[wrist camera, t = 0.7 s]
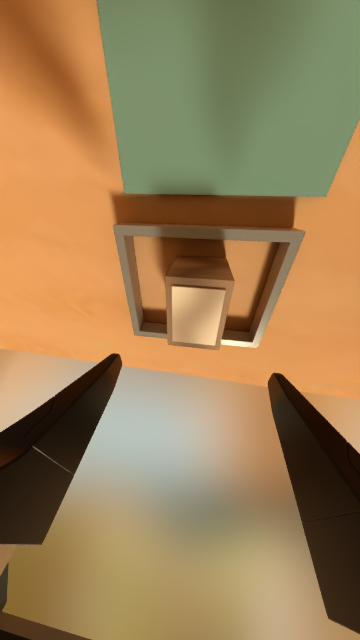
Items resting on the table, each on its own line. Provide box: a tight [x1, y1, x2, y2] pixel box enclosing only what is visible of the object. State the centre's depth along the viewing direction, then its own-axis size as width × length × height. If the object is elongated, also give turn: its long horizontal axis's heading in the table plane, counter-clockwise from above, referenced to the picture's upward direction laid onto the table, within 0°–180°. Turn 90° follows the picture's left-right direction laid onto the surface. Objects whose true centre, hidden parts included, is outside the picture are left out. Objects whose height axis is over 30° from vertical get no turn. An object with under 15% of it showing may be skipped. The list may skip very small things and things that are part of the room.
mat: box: [97, 0, 360, 197], centre depth 10 cm, size 16×11×1 cm
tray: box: [113, 223, 306, 348], centre depth 18 cm, size 16×13×2 cm
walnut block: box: [165, 255, 234, 350], centre depth 16 cm, size 5×7×6 cm
